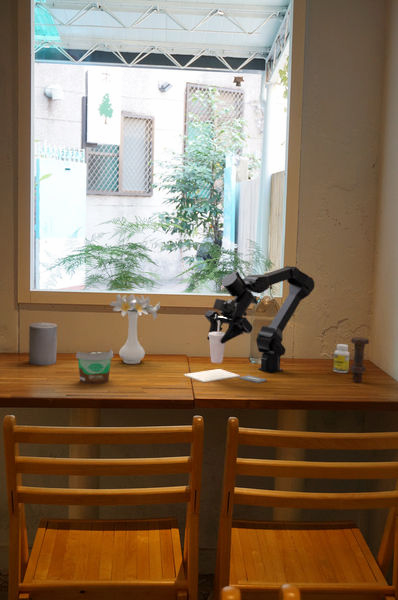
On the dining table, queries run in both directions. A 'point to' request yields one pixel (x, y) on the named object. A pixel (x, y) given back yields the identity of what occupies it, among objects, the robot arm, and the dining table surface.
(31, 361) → the pillar candle
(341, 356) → the supplement bottle
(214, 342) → the smoothie
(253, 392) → the dining table surface
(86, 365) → the food container
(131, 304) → the flower vase
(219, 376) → the paper
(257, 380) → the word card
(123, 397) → the dining table surface
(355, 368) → the bolt
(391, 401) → the dining table surface
